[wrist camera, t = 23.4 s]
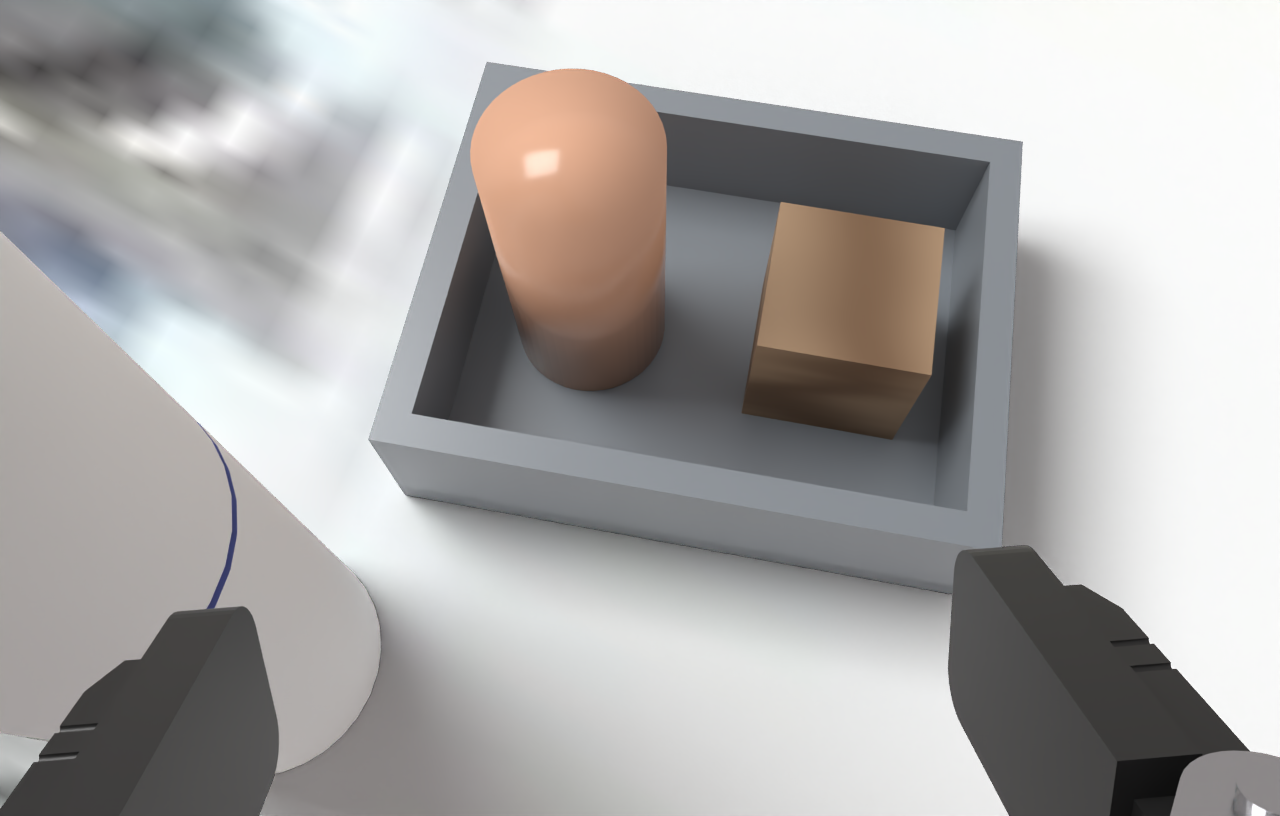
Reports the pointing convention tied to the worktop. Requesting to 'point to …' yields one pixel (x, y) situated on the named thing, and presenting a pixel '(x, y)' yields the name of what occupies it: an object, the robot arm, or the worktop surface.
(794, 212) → the walnut cube
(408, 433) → the grey tote
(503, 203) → the terracotta capsule
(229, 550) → the cylindrical container
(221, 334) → the worktop surface
